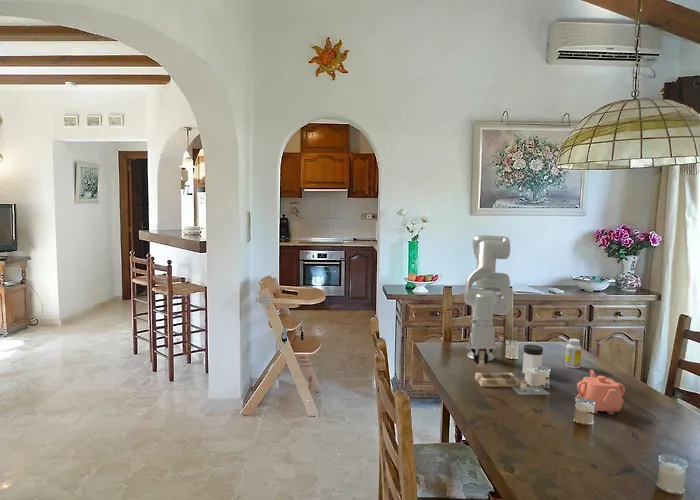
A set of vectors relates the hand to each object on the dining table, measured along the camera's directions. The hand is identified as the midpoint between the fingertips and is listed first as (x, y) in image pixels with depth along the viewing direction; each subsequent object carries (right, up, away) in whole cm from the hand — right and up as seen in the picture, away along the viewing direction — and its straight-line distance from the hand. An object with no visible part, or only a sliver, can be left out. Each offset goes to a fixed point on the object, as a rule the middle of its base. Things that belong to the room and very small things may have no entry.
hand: (480, 362), depth 222 cm
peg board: (+5, -7, -7) cm, 11 cm away
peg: (0, -2, 0) cm, 2 cm away
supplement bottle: (+48, -6, +19) cm, 52 cm away
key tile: (+16, -8, -15) cm, 24 cm away
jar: (+25, -7, +8) cm, 27 cm away
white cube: (+21, -8, -7) cm, 24 cm away
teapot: (+36, -11, -31) cm, 49 cm away
